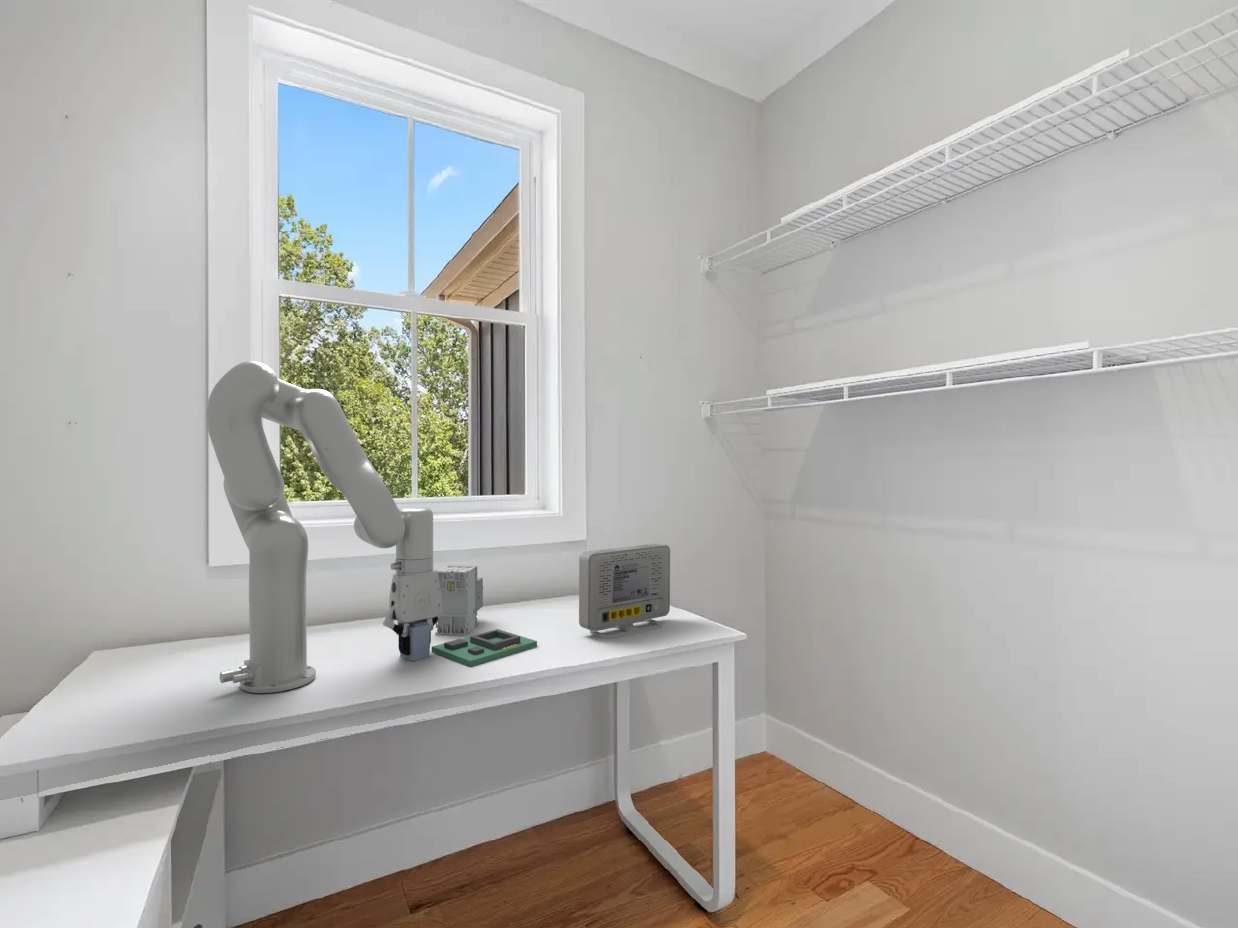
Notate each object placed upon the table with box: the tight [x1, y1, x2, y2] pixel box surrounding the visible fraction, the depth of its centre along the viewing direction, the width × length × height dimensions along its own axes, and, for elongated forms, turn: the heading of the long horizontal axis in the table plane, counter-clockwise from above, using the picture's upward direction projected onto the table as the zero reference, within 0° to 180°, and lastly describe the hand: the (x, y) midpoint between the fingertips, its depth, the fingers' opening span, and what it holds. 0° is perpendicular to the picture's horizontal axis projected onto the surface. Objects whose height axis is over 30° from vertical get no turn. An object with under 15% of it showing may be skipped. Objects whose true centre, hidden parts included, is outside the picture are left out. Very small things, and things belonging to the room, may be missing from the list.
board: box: [431, 628, 538, 668], centre depth 140 cm, size 18×14×3 cm
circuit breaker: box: [435, 565, 484, 636], centre depth 157 cm, size 8×14×15 cm, turn 174°
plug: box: [399, 620, 431, 662], centre depth 134 cm, size 4×5×8 cm
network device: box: [578, 543, 671, 640], centre depth 156 cm, size 26×9×20 cm, turn 128°
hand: (414, 650), depth 134 cm, fingers closed on plug, 4 cm apart
